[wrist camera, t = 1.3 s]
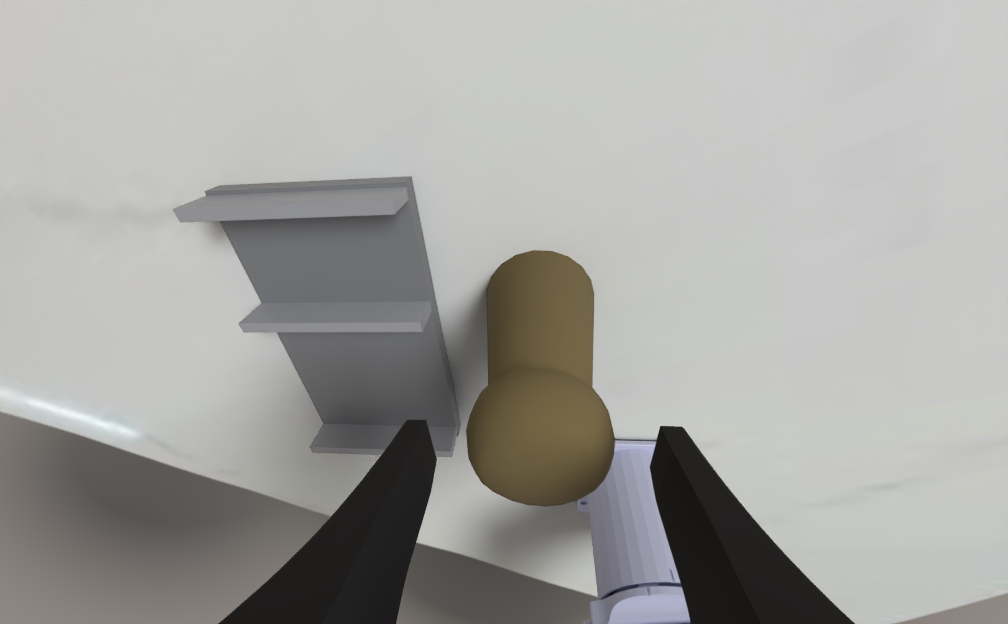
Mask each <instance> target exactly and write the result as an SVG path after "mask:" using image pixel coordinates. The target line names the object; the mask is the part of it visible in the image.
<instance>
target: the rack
mask: <svg viewBox="0 0 1008 624" xmlns="http://www.w3.org/2000/svg"><path fill="white" fill-rule="evenodd" d="M204 192H205V193H206V195H207V196H204V197H202V198H199V199H197V200H194V201H192V202H189V203H187V204H184V205H182V206H179V207H177V208H174V209H173V211H174V213H175V214H176V216H177V218H178V220H179V221H180V222H204V221H220V223H221V225H222V227H223V229H224V230H225V232H226V234H227V236H228V238H229V240H230V242H231V244H232V246H233V248H234V250H235V252H236V254H237V256H238V258H239V260H240V262H241V264H242V266H243V267H244V269H245V271H246V273H247V275H248V277H249V279H250V281H251V283H252V285H253V287H254V289H255V291H256V293H257V295H258V297H259V299H260V301H261V304H260V305H259V306H258V307H257V308H256V309H255V310H253V311H252V312H251V313H250V314H249V315H248V316H246V317H245V318H244V319H243V320H242V321H241V322H240V323H238V324H239V325H240V327H241V329H242V330H243V332H277V334H278V336H279V338H280V340H281V341H282V343H283V345H284V347H285V349H286V351H287V353H288V355H289V357H290V359H291V361H292V363H293V365H294V367H295V369H296V371H297V373H298V375H299V377H300V378H301V380H302V382H303V384H304V386H305V388H306V390H307V392H308V394H309V396H310V398H311V400H312V402H313V404H314V406H315V408H316V410H317V412H318V414H319V415H320V417H321V419H322V421H323V423H324V424H323V426H322V427H321V429H320V431H319V432H318V434H317V436H316V437H315V439H314V441H313V442H312V444H311V446H310V448H311V450H312V452H317V453H346V454H376V455H382V453H383V452H384V451H385V449H386V448H387V447H388V445H389V444H390V443H391V441H392V440H393V438H394V437H395V436H396V434H397V433H398V431H399V430H400V428H401V427H402V426H403V424H404V423H405V421H407V420H426V421H427V425H428V429H429V432H430V436H431V440H432V444H433V447H434V451H435V455H436V457H452V455H453V450H454V446H455V441H456V437H457V436H458V435H459V430H460V426H461V424H460V419H459V414H458V409H457V404H456V399H455V394H454V389H453V384H452V379H451V374H450V369H449V363H448V358H447V353H446V348H445V343H444V338H443V333H442V328H441V323H440V318H439V313H438V308H437V303H436V298H435V293H434V288H433V283H432V278H431V273H430V268H429V263H428V258H427V253H426V248H425V243H424V238H423V233H422V228H421V223H420V217H419V212H418V207H417V202H416V197H415V192H414V187H413V182H412V177H392V178H371V179H350V180H329V181H308V182H287V183H266V184H245V185H224V186H217V187H215V188H212V189H210V190H207V191H204Z"/></svg>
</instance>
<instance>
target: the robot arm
mask: <svg viewBox="0 0 1008 624" xmlns="http://www.w3.org/2000/svg"><path fill="white" fill-rule="evenodd" d="M436 460H437V458H436V455H435V451H434V447H433V444H432V440H431V436H430V432H429V429H428V425H427V421H426V420H407V421H405V423H404V424H403V426H402V427H401V428H400V430H399V431H398V433H397V434H396V436H395V437H394V438H393V440H392V441H391V443H390V444H389V445H388V447H387V448H386V449H385V451H384V452H383V453H382V455H381V456H380V458H379V459H378V460H377V462H376V463H375V464H374V465H373V467H372V468H371V469H370V471H369V472H368V473H367V474H366V476H365V477H364V478H363V480H362V481H361V482H360V483H359V485H358V486H357V487H356V488H355V489H354V491H353V492H352V493H351V494H350V495H349V497H348V498H347V499H346V500H345V501H344V502H343V504H342V505H341V506H340V507H339V508H338V510H337V511H336V512H335V513H334V514H333V515H332V516H331V517H330V519H329V520H328V521H327V522H326V523H325V524H324V525H323V526H322V527H321V529H320V530H319V531H318V532H317V533H316V534H315V535H314V536H313V537H312V538H311V539H310V540H309V541H308V542H307V543H306V544H305V545H304V546H303V547H302V548H301V549H300V550H299V551H298V552H297V553H296V554H295V555H294V556H293V557H292V558H291V559H290V560H289V561H288V562H287V563H286V564H285V565H284V566H283V567H282V568H281V569H280V570H279V571H278V572H277V573H276V574H274V575H273V576H272V577H271V578H270V579H269V580H268V581H267V582H266V583H265V584H264V585H262V586H261V587H260V588H259V589H258V590H257V591H256V592H255V593H253V594H252V595H251V596H250V597H249V598H248V599H247V600H245V601H244V602H243V603H242V604H241V605H240V606H239V607H237V608H236V609H235V610H234V611H233V612H232V613H230V614H229V615H228V616H227V617H226V618H225V619H224V620H222V621H221V622H220V623H219V624H396V621H397V615H398V611H399V606H400V601H401V597H402V591H403V587H404V583H405V579H406V575H407V571H408V567H409V564H410V561H411V557H412V554H413V551H414V547H415V544H416V541H417V537H418V534H419V530H420V527H421V524H422V520H423V517H424V514H425V510H426V507H427V503H428V500H429V496H430V493H431V488H432V483H433V478H434V472H435V466H436ZM577 510H578V511H580V512H588V513H589V518H590V527H591V536H592V546H593V555H594V564H595V573H596V583H597V592H598V601H591V602H590V608H591V619H592V620H590V621H585V622H584V623H583V624H855V623H854V622H853V621H851V620H850V619H849V618H848V617H847V616H846V615H845V614H844V613H843V612H842V611H841V610H840V609H839V608H837V607H836V606H835V605H834V604H833V603H832V602H831V601H830V600H829V599H828V598H827V597H826V596H825V595H824V594H823V593H822V592H821V591H820V590H819V589H818V588H817V587H816V586H815V585H814V584H813V583H812V582H811V581H810V580H809V579H808V578H807V577H806V576H805V575H804V574H803V573H802V571H801V570H800V569H799V568H798V567H797V566H796V565H795V564H794V563H793V562H792V561H791V560H790V559H789V558H788V557H787V556H786V555H785V554H784V553H783V551H782V550H781V549H780V548H779V547H778V546H777V545H776V544H775V543H774V542H773V540H772V539H771V538H770V537H769V536H768V535H767V534H766V533H765V531H764V530H763V529H762V528H761V527H760V526H759V524H758V523H757V522H756V521H755V520H754V519H753V518H752V516H751V515H750V514H749V513H748V512H747V510H746V509H745V508H744V507H743V506H742V504H741V503H740V502H739V501H738V499H737V498H736V497H735V496H734V494H733V493H732V492H731V491H730V490H729V488H728V487H727V486H726V485H725V483H724V482H723V481H722V479H721V478H720V477H719V476H718V474H717V473H716V472H715V470H714V469H713V468H712V466H711V465H710V464H709V462H708V461H707V460H706V458H705V457H704V456H703V454H702V453H701V452H700V450H699V449H698V447H697V446H696V445H695V443H694V442H693V440H692V439H691V438H690V436H689V435H688V433H687V432H686V431H685V429H684V428H683V427H674V426H660V430H659V433H658V437H657V441H622V440H615V449H614V456H613V460H612V464H611V467H610V470H609V472H608V474H607V476H606V478H605V480H604V481H603V482H602V483H601V484H600V486H599V487H598V488H597V489H596V490H595V491H593V492H592V493H590V494H588V495H586V496H585V497H583V498H581V499H578V500H577Z"/></svg>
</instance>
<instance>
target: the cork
mask: <svg viewBox="0 0 1008 624" xmlns="http://www.w3.org/2000/svg"><path fill="white" fill-rule="evenodd" d="M593 326H594V291H593V287H592V283H591V279H590V278H589V276H588V275H587V273H586V272H585V270H584V269H583V267H582V266H580V265H579V264H578V263H576V262H575V261H574V260H572V259H571V258H570V257H568V256H565V255H562V254H559V253H556V252H553V251H530V252H526V253H522V254H518V255H515V256H514V257H512V258H511V259H509V260H507V261H506V262H504V263H503V264H501V266H500V267H499V268H498V269H497V270H496V272H495V273H494V274H493V275H492V277H491V280H490V283H489V286H488V288H487V333H488V386H487V387H486V388H485V389H484V390H483V391H482V392H481V393H480V395H479V397H478V399H477V401H476V402H475V404H474V407H473V409H472V412H471V414H470V417H469V421H468V425H467V430H466V434H467V446H468V456H469V460H470V462H471V464H472V467H473V469H474V471H475V472H476V474H477V476H478V477H479V479H480V481H481V482H482V483H483V484H484V485H486V486H487V487H488V488H489V489H490V490H492V491H493V492H495V493H497V494H499V495H501V496H503V497H505V498H507V499H509V500H512V501H515V502H519V503H523V504H527V505H536V506H553V505H562V504H565V503H569V502H572V501H576V500H578V499H581V498H583V497H585V496H586V495H588V494H590V493H592V492H593V491H595V490H596V489H597V488H598V487H599V486H600V484H601V483H602V482H603V481H604V480H605V478H606V476H607V474H608V472H609V470H610V467H611V464H612V460H613V456H614V449H615V437H614V433H613V428H612V424H611V420H610V416H609V412H608V410H607V408H606V406H605V404H604V403H603V401H602V399H601V398H600V397H599V395H598V394H597V393H596V392H595V390H594V389H593V388H592V374H593Z"/></svg>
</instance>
